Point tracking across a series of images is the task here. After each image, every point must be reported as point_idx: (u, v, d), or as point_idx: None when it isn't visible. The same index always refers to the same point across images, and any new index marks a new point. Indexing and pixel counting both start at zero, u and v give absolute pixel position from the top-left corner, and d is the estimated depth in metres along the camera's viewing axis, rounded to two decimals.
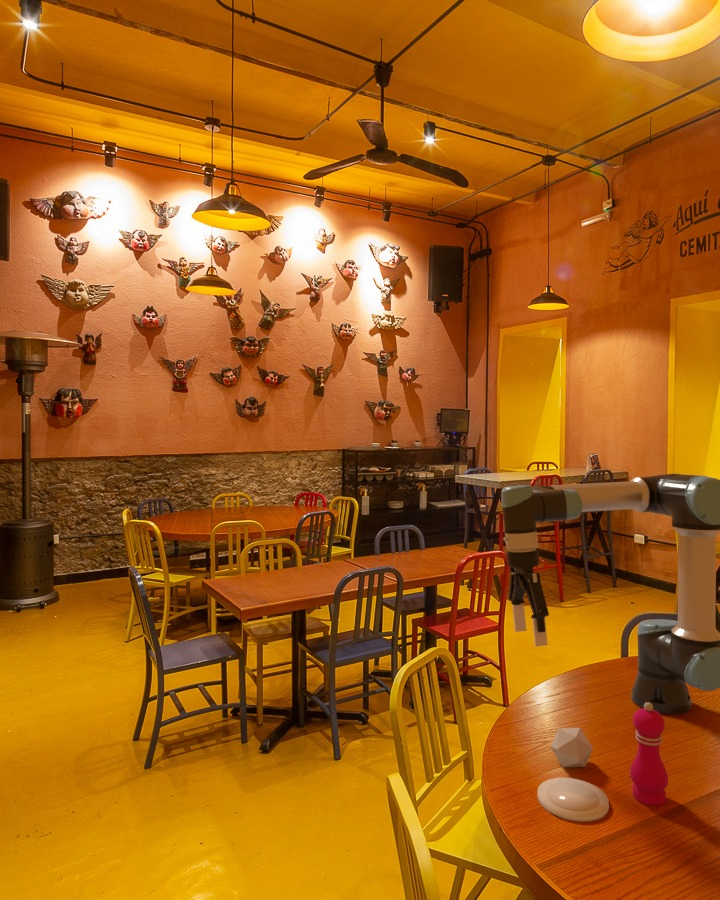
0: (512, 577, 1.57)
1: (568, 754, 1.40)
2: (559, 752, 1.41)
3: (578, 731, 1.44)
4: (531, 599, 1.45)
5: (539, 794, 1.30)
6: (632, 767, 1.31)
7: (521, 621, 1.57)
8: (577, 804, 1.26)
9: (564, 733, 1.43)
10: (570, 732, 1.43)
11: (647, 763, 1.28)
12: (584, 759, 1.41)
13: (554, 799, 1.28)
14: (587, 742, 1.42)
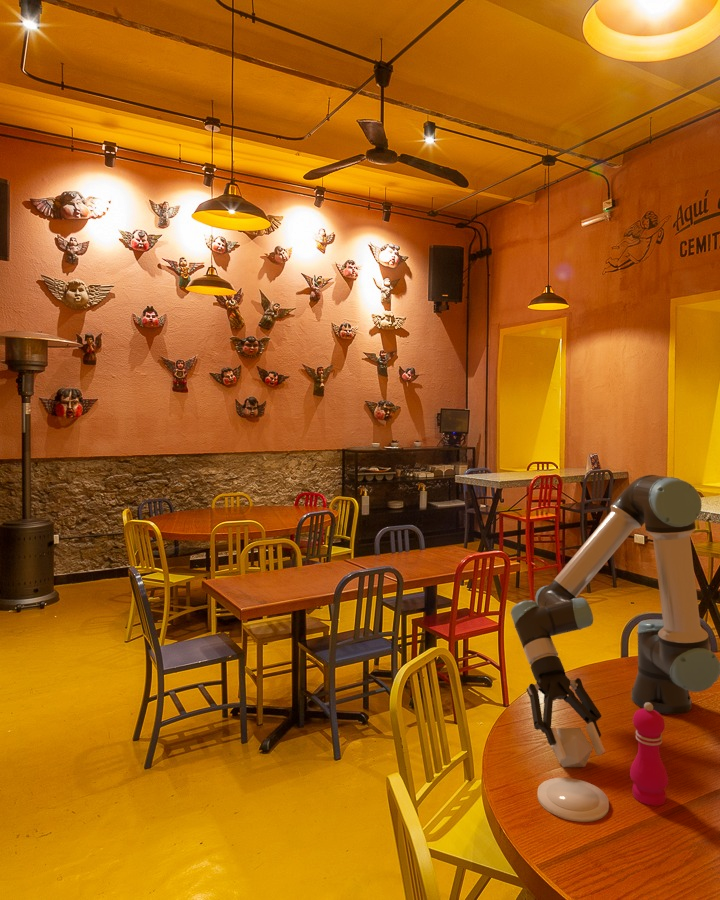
0: (576, 692, 1.51)
1: (567, 754, 1.40)
2: None
3: (578, 731, 1.44)
4: (544, 712, 1.47)
5: (539, 794, 1.30)
6: (632, 767, 1.31)
7: (595, 742, 1.42)
8: (577, 804, 1.26)
9: (564, 733, 1.43)
10: (570, 732, 1.43)
11: (647, 763, 1.28)
12: (584, 759, 1.41)
13: (554, 799, 1.28)
14: (587, 742, 1.42)
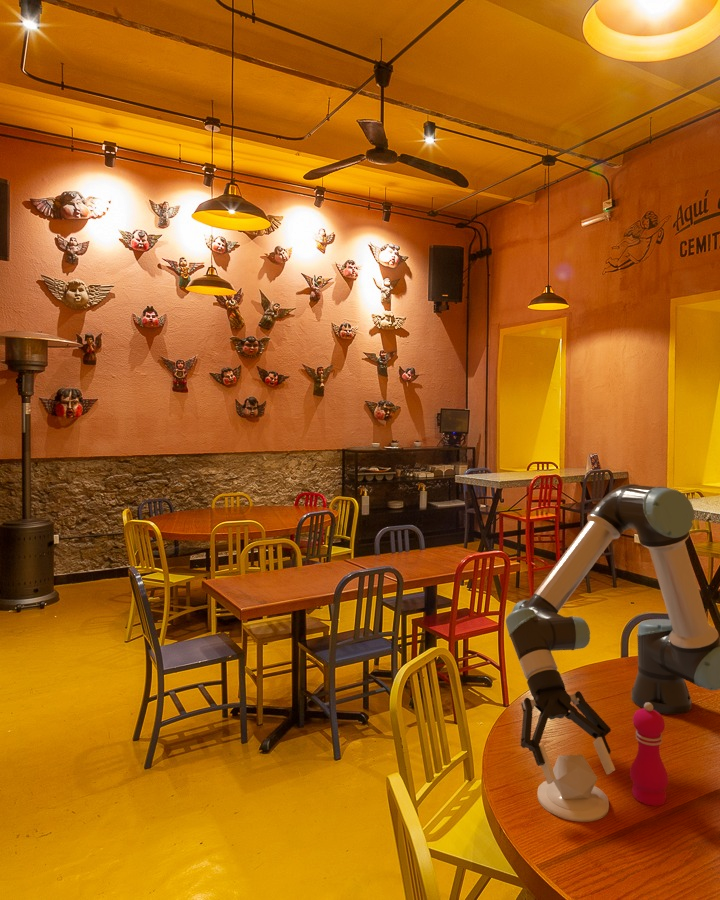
0: (578, 707, 1.37)
1: (570, 786, 1.26)
2: (560, 783, 1.27)
3: (581, 759, 1.29)
4: (535, 729, 1.32)
5: (539, 794, 1.30)
6: (632, 767, 1.31)
7: (604, 759, 1.29)
8: (577, 804, 1.26)
9: (565, 762, 1.29)
10: (572, 760, 1.29)
11: (647, 763, 1.28)
12: (588, 791, 1.26)
13: (554, 799, 1.28)
14: (591, 771, 1.28)
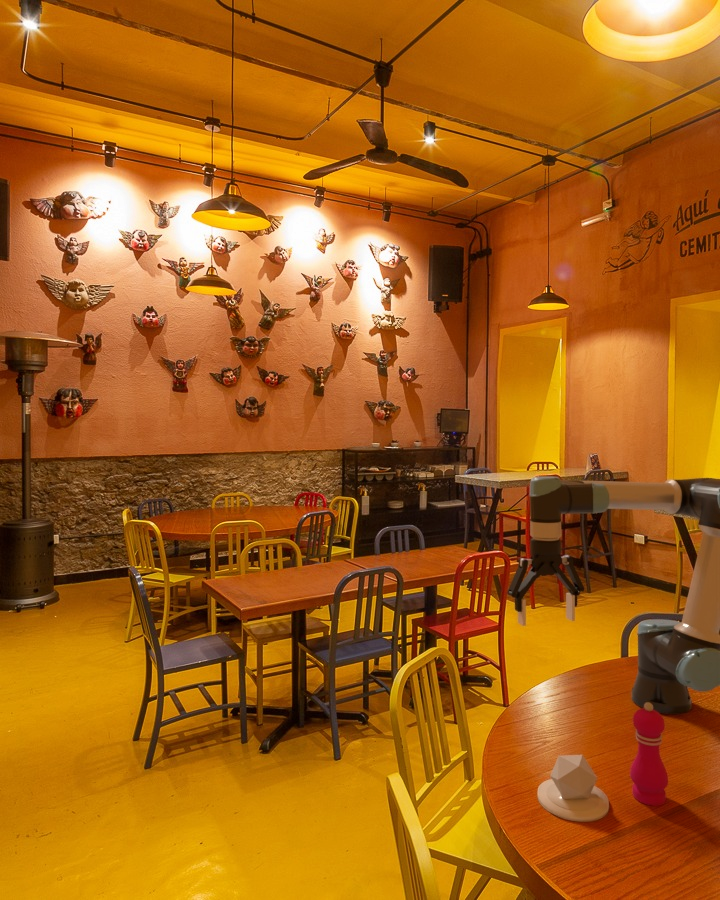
0: (565, 565, 1.59)
1: (570, 786, 1.26)
2: (560, 783, 1.27)
3: (581, 759, 1.29)
4: (523, 581, 1.57)
5: (539, 794, 1.30)
6: (632, 767, 1.31)
7: (569, 610, 1.58)
8: (577, 804, 1.26)
9: (565, 762, 1.29)
10: (572, 760, 1.29)
11: (647, 763, 1.28)
12: (588, 791, 1.26)
13: (554, 799, 1.28)
14: (591, 771, 1.28)
